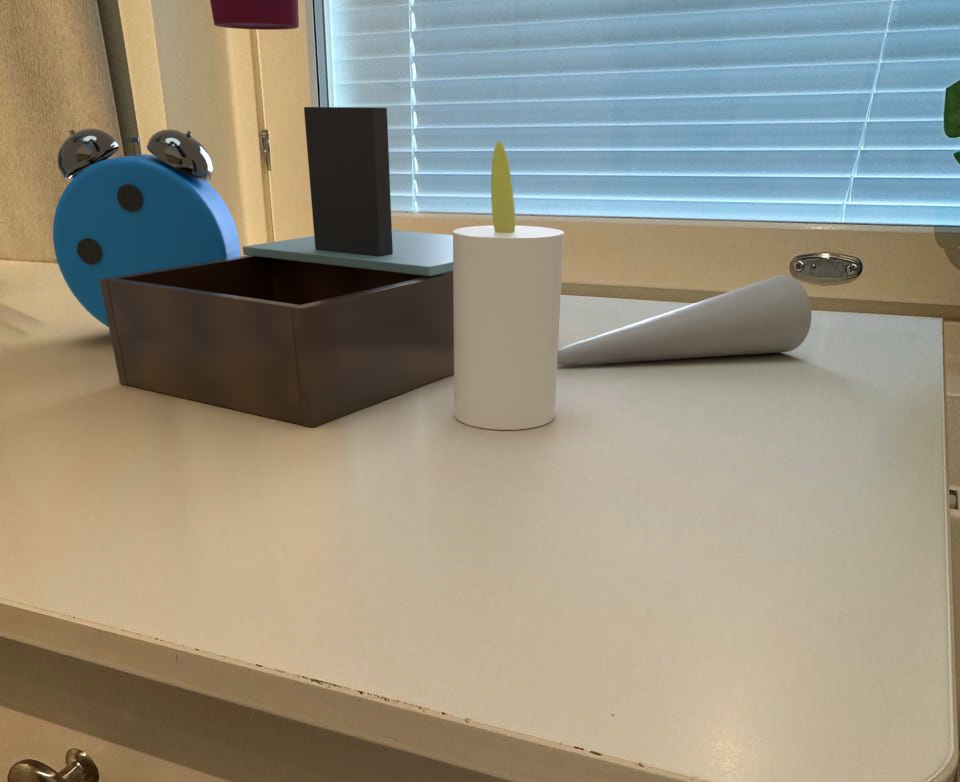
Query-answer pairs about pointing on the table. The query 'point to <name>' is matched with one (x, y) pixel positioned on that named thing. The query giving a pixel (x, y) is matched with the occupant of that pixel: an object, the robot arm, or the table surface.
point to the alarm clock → (136, 211)
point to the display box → (280, 334)
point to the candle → (506, 315)
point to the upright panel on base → (356, 201)
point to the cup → (255, 14)
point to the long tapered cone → (708, 328)
